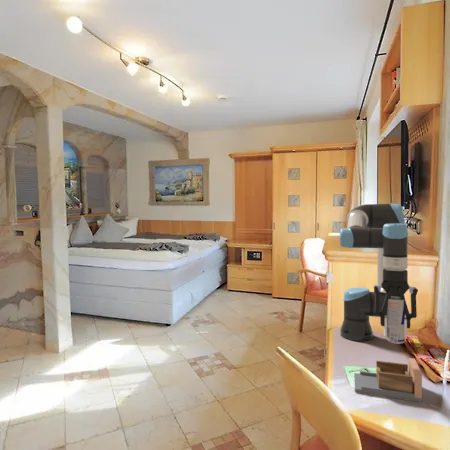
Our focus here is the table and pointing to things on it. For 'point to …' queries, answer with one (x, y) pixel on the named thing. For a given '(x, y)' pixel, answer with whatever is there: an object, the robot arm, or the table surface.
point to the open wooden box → (393, 376)
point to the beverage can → (395, 320)
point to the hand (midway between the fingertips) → (395, 336)
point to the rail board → (369, 385)
